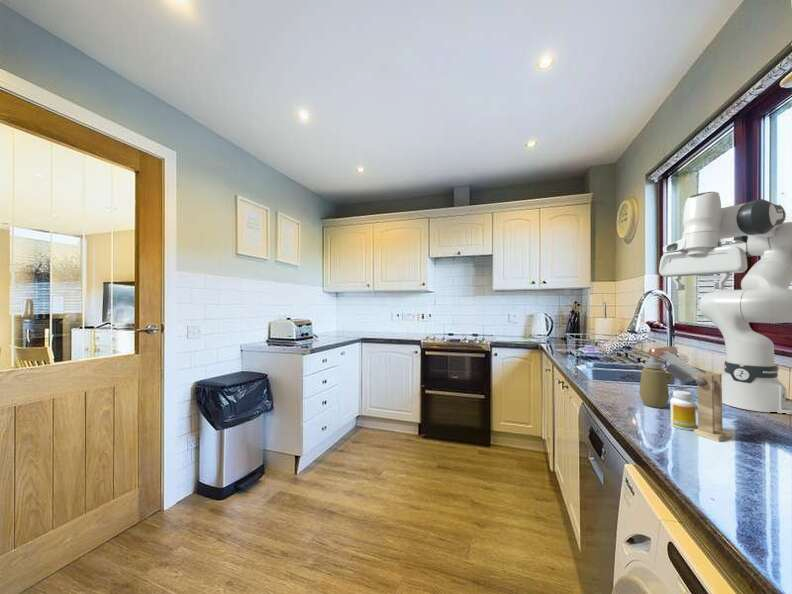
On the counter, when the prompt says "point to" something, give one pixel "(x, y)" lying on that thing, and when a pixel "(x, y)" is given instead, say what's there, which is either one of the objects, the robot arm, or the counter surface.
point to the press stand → (710, 407)
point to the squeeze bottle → (654, 384)
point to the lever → (676, 364)
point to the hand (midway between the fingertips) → (699, 289)
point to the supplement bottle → (682, 411)
